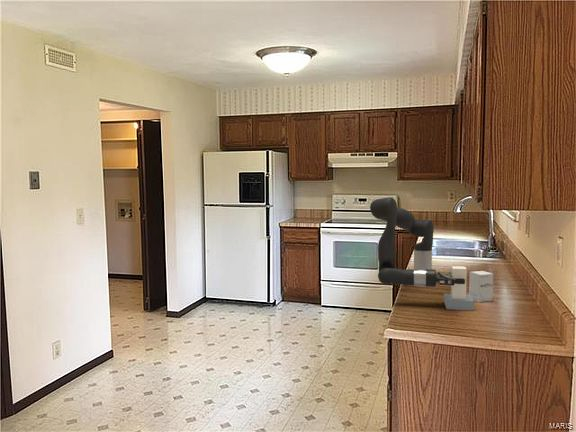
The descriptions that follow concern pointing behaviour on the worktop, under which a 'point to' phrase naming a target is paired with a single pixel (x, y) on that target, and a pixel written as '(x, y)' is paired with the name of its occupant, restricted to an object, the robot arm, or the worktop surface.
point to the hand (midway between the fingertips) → (463, 279)
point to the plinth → (458, 303)
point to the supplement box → (481, 286)
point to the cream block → (458, 289)
